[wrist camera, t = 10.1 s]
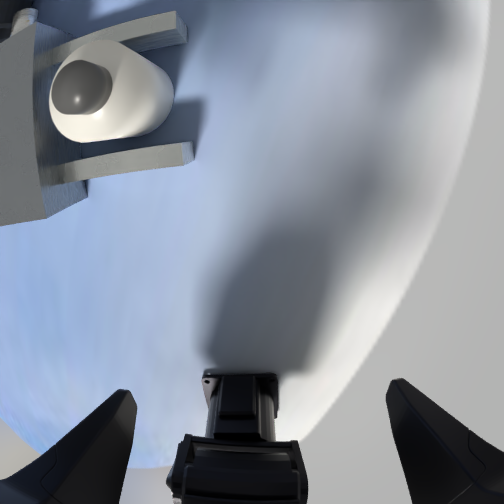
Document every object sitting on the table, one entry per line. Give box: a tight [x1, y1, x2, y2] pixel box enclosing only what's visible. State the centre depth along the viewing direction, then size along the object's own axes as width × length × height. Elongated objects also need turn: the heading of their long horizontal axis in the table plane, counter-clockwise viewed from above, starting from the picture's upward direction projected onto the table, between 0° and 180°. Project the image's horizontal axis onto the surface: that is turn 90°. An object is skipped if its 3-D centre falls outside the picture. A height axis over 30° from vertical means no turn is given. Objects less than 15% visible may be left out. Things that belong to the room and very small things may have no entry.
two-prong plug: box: [0, 8, 194, 226], centre depth 13 cm, size 15×15×5 cm
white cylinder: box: [49, 40, 174, 142], centre depth 12 cm, size 5×5×8 cm
